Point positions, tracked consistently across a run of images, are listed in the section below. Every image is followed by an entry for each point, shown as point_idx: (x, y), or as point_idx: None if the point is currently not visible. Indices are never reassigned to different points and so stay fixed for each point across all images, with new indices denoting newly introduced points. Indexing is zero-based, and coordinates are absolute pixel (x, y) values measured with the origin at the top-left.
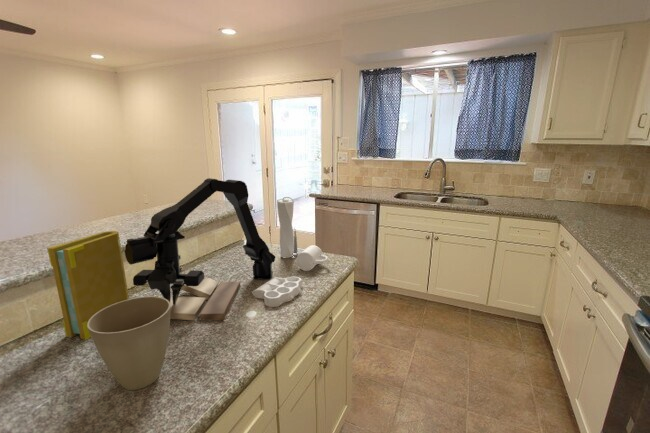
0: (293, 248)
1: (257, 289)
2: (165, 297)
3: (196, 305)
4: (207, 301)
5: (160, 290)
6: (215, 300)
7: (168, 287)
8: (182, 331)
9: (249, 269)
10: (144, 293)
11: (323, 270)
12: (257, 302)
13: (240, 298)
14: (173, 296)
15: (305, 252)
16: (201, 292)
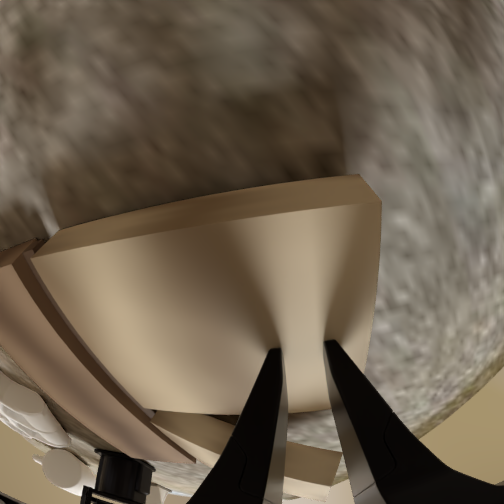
0: None
1: (23, 413)
2: (358, 398)
3: (113, 352)
4: None
5: (425, 467)
6: (77, 386)
7: (356, 488)
8: (42, 88)
9: (190, 476)
10: (473, 368)
11: (40, 441)
12: (5, 366)
13: None
14: (263, 424)
15: (56, 485)
16: (189, 436)
